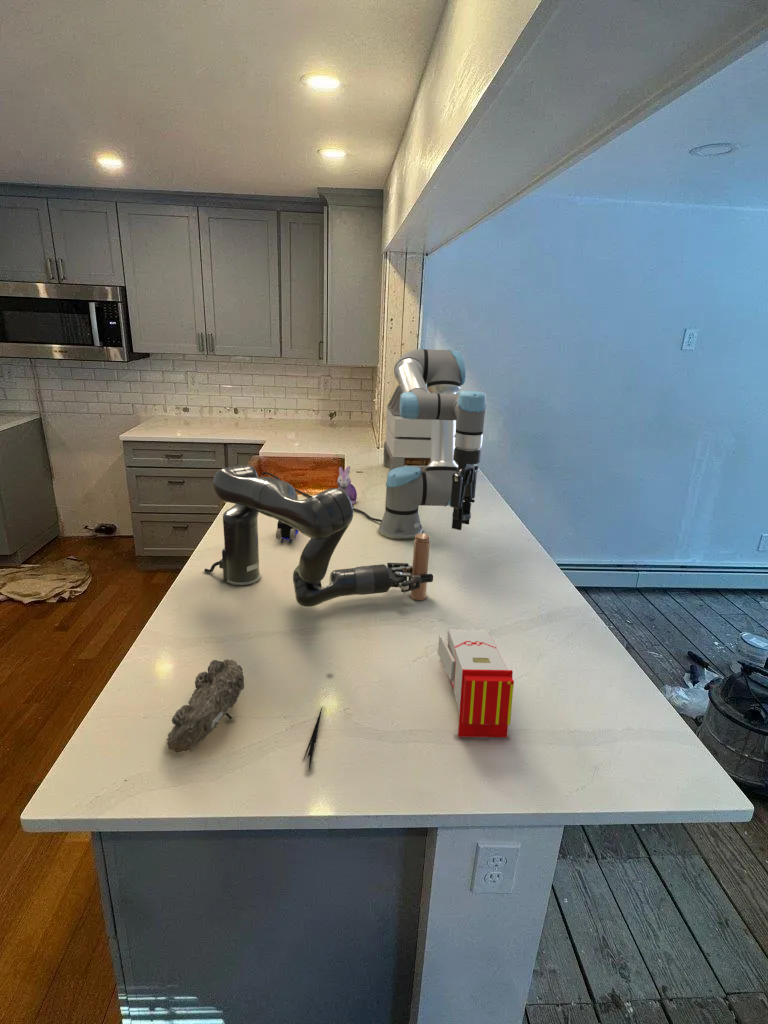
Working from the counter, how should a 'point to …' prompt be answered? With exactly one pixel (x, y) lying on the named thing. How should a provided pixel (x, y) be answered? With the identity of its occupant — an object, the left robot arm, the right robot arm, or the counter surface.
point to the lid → (466, 515)
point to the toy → (478, 682)
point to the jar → (420, 563)
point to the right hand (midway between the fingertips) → (460, 525)
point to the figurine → (346, 484)
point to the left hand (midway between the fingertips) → (428, 573)
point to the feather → (313, 740)
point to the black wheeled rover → (285, 532)
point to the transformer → (406, 437)
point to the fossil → (206, 705)
